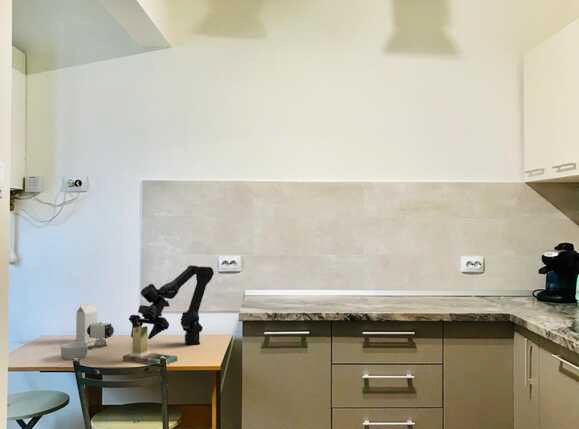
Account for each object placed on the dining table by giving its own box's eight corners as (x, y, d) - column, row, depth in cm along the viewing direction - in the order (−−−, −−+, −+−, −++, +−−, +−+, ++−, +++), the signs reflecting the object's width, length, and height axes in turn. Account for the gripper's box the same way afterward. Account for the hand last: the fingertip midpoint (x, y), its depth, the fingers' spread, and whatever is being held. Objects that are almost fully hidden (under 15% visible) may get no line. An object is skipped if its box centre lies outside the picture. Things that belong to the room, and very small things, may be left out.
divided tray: (177, 360, 211) (177, 353, 211) (164, 366, 202) (164, 358, 202) (136, 355, 219) (136, 348, 219) (122, 360, 211) (122, 353, 211)
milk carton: (97, 340, 248) (97, 303, 248) (84, 343, 242) (85, 305, 242) (88, 339, 251) (88, 302, 252) (75, 341, 245) (76, 304, 246)
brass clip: (139, 350, 216) (139, 325, 216) (147, 351, 214) (147, 326, 214) (132, 353, 212) (132, 327, 212) (140, 354, 210) (140, 328, 210)
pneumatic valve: (108, 348, 231) (108, 323, 232) (86, 347, 234) (86, 322, 234) (114, 345, 237) (115, 321, 237) (93, 344, 239) (93, 320, 239)
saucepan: (102, 360, 211) (102, 347, 211) (55, 361, 210) (55, 348, 211) (111, 353, 222) (111, 341, 223) (66, 354, 222) (67, 341, 222)
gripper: (131, 296, 222) (114, 325, 212) (165, 299, 215) (149, 329, 205) (142, 311, 229) (126, 340, 219) (175, 314, 222) (160, 343, 212)
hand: (140, 337), depth 213 cm, fingers open, 9 cm apart
